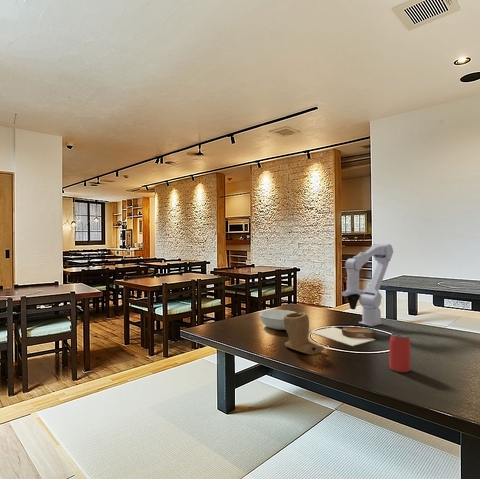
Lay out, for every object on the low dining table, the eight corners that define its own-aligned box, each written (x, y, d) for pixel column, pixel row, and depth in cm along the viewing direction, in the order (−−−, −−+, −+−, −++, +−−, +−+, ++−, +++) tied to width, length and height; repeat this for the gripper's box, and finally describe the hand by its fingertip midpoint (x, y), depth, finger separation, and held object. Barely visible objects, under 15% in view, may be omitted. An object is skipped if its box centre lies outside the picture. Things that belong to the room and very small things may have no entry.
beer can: (385, 366, 121) (386, 332, 121) (403, 365, 121) (403, 332, 121) (395, 373, 114) (396, 337, 114) (414, 373, 115) (414, 337, 115)
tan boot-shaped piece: (277, 347, 140) (277, 311, 140) (298, 343, 146) (299, 308, 146) (302, 359, 127) (303, 319, 127) (325, 353, 134) (325, 315, 133)
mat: (332, 327, 171) (332, 327, 171) (375, 340, 152) (375, 339, 152) (310, 332, 162) (310, 331, 162) (352, 346, 143) (352, 345, 143)
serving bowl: (267, 334, 159) (267, 320, 158) (254, 323, 179) (254, 310, 179) (308, 331, 164) (308, 317, 164) (290, 321, 184) (290, 308, 184)
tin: (372, 328, 161) (377, 331, 153) (372, 334, 161) (377, 338, 152) (339, 326, 162) (343, 329, 154) (339, 333, 162) (343, 336, 154)
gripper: (355, 280, 180) (355, 306, 180) (337, 282, 171) (337, 309, 171) (367, 282, 174) (366, 308, 174) (348, 284, 166) (348, 311, 166)
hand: (352, 309), depth 172 cm, fingers closed
